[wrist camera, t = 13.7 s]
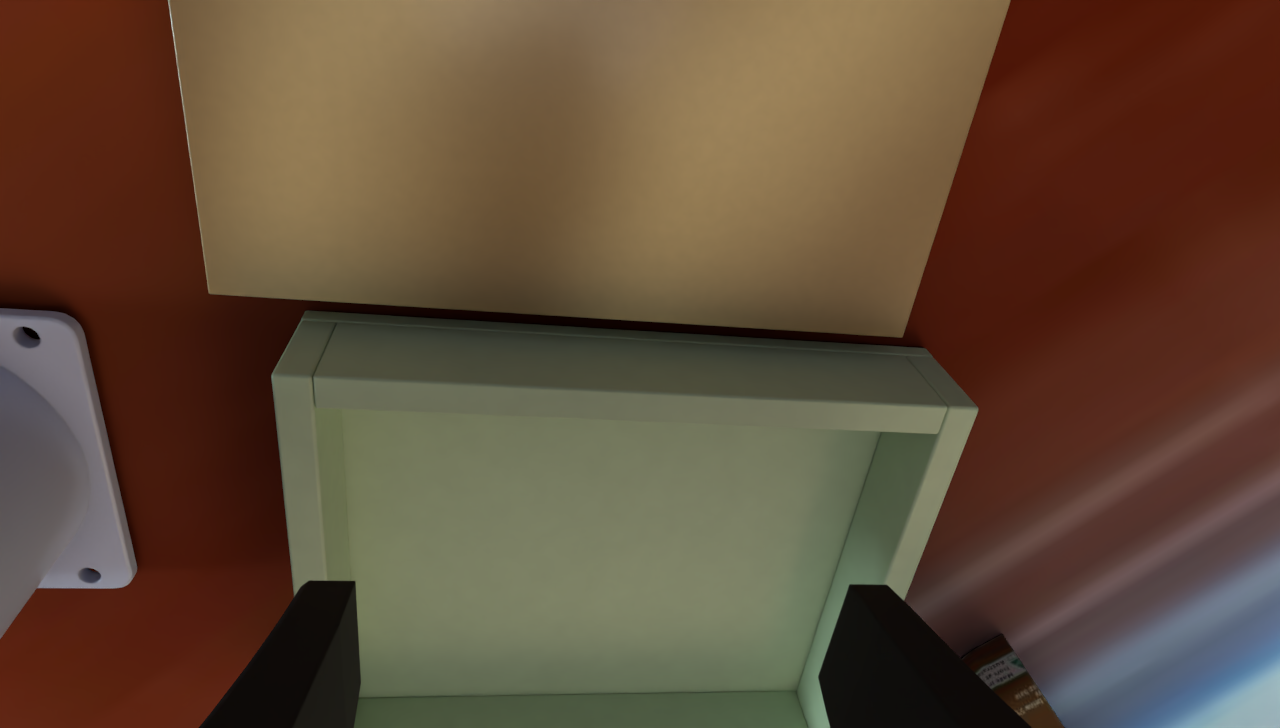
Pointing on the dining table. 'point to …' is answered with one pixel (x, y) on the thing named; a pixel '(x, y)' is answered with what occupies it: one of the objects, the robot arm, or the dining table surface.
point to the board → (582, 153)
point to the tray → (603, 512)
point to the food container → (1011, 682)
